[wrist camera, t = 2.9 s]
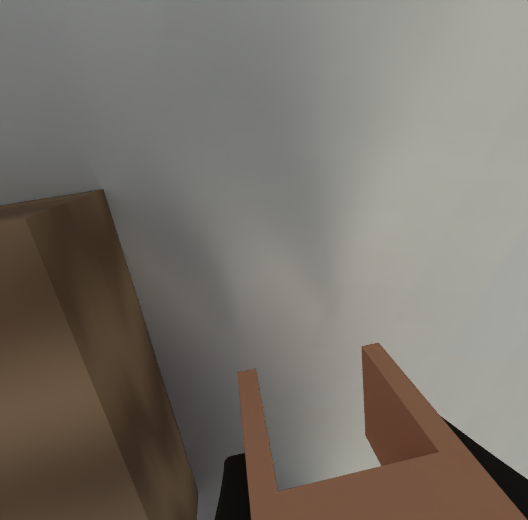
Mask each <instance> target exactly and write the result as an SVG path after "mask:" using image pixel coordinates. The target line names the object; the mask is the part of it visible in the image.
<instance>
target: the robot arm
mask: <svg viewBox="0 0 528 520" xmlns="http://www.w3.org/2000/svg"><path fill="white" fill-rule="evenodd" d="M441 418H442V417H441ZM442 419H443V420H444V421H445V422H446V424H447V425H448V426H449V427H450V428H451V430H452V431H453V432H454V433H455V434H456V436H457V437H458V438H459V439H460V440H461V441H462V443H463V444H464V445H465V446H466V447H467V449H468V450H469V451H470V452H471V453H472V455H473V456H474V457H475V458H476V459H477V461H478V462H479V463H480V464H481V465H482V466H483V468H484V469H485V470H486V471H487V472H488V474H489V475H490V476H491V477H492V478H493V480H494V481H495V482H496V483H497V484H498V486H499V487H500V488H501V489H502V490H503V492H504V493H505V494H506V495H507V496H508V497H509V499H510V500H511V501H512V502H513V503H514V505H515V506H516V507H517V508H518V509H519V511H520V512H521V513H522V514H523V515H524V517H525V518H526V519H527V520H528V479H526V478H525V477H523V476H522V475H521V474H519V473H518V472H516V471H515V470H514V469H512V468H511V467H509V466H508V465H506V464H505V463H504V462H502V461H501V460H499V459H498V458H497V457H495V456H494V455H492V454H491V453H490V452H488V451H487V450H485V449H484V448H483V447H481V446H480V445H479V444H477V443H476V442H475V441H473V440H472V439H471V438H469V437H468V436H467V435H465V434H464V433H463V432H461V431H460V430H459V429H457V428H456V427H455V426H453V425H452V424H451V423H449V422H448V421H447V420H445V419H444V418H442ZM215 520H251V512H250V501H249V490H248V480H247V469H246V458H245V453H243V454H239V455H234V456H230V457H228V458H227V459H226V460H225V463H224V473H223V480H222V486H221V492H220V497H219V502H218V507H217V512H216V517H215Z"/></svg>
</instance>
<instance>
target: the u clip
mask: <svg viewBox="0 0 528 520" xmlns="http://www.w3.org/2000/svg"><path fill="white" fill-rule="evenodd" d="M362 367H363V390H364V413H365V435H366V437H367V439H368V441H369V443H370V445H371V447H372V449H373V451H374V453H375V455H376V456H377V458H378V460H379V462H380V464H381V466H380V467H376V468H372V469H368V470H364V471H360V472H356V473H352V474H347V475H343V476H339V477H335V478H331V479H327V480H323V481H319V482H315V483H311V484H307V485H302V486H298V487H294V488H290V489H286V490H282V491H278V488H277V483H276V477H275V471H274V466H273V460H272V455H271V449H270V444H269V438H268V433H267V428H266V422H265V417H264V411H263V406H262V400H261V395H260V389H259V384H258V378H257V373H256V369H252V370H247V371H242V372H237V373H238V384H239V394H240V405H241V416H242V426H243V437H244V448H245V458H246V469H247V480H248V490H249V501H250V512H251V520H527V519H526V518H525V517H524V515H523V514H522V513H521V512H520V511H519V509H518V508H517V507H516V506H515V505H514V503H513V502H512V501H511V500H510V499H509V497H508V496H507V495H506V494H505V493H504V492H503V490H502V489H501V488H500V487H499V486H498V484H497V483H496V482H495V481H494V480H493V478H492V477H491V476H490V475H489V474H488V472H487V471H486V470H485V469H484V468H483V466H482V465H481V464H480V463H479V462H478V461H477V459H476V458H475V457H474V456H473V455H472V453H471V452H470V451H469V450H468V449H467V447H466V446H465V445H464V444H463V443H462V441H461V440H460V439H459V438H458V437H457V436H456V434H455V433H454V432H453V431H452V430H451V428H450V427H449V426H448V425H447V424H446V422H445V421H444V420H443V419H442V418H441V416H440V415H439V414H438V413H437V412H436V410H435V409H434V408H433V407H432V406H431V405H430V403H429V402H428V401H427V400H426V399H425V397H424V396H423V395H422V394H421V393H420V391H419V390H418V389H417V388H416V387H415V385H414V384H413V383H412V382H411V381H410V380H409V378H408V377H407V376H406V375H405V374H404V372H403V371H402V370H401V369H400V368H399V366H398V365H397V364H396V363H395V362H394V360H393V359H392V358H391V357H390V356H389V354H388V353H387V352H386V351H385V350H384V349H383V347H382V346H381V345H380V344H379V343H375V344H370V345H366V346H362Z"/></svg>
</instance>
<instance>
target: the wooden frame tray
mask: <svg viewBox="0 0 528 520" xmlns="http://www.w3.org/2000/svg"><path fill="white" fill-rule="evenodd" d="M197 505H198V491H197V488H196V485H195V482H194V479H193V475H192V472H191V469H190V466H189V463H188V459H187V456H186V453H185V450H184V447H183V443H182V440H181V437H180V434H179V431H178V427H177V424H176V421H175V418H174V415H173V411H172V408H171V405H170V402H169V399H168V395H167V392H166V389H165V386H164V383H163V379H162V376H161V373H160V370H159V367H158V363H157V360H156V357H155V354H154V351H153V347H152V344H151V341H150V338H149V335H148V331H147V328H146V325H145V322H144V319H143V315H142V312H141V309H140V306H139V303H138V299H137V296H136V293H135V290H134V287H133V283H132V280H131V277H130V274H129V271H128V267H127V264H126V261H125V258H124V255H123V251H122V248H121V245H120V242H119V239H118V235H117V232H116V229H115V226H114V223H113V219H112V216H111V213H110V210H109V207H108V204H107V200H106V197H105V194H104V191H103V189H102V190H96V191H89V192H83V193H77V194H70V195H64V196H58V197H51V198H45V199H39V200H32V201H26V202H20V203H13V204H7V205H1V206H0V520H197Z"/></svg>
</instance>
